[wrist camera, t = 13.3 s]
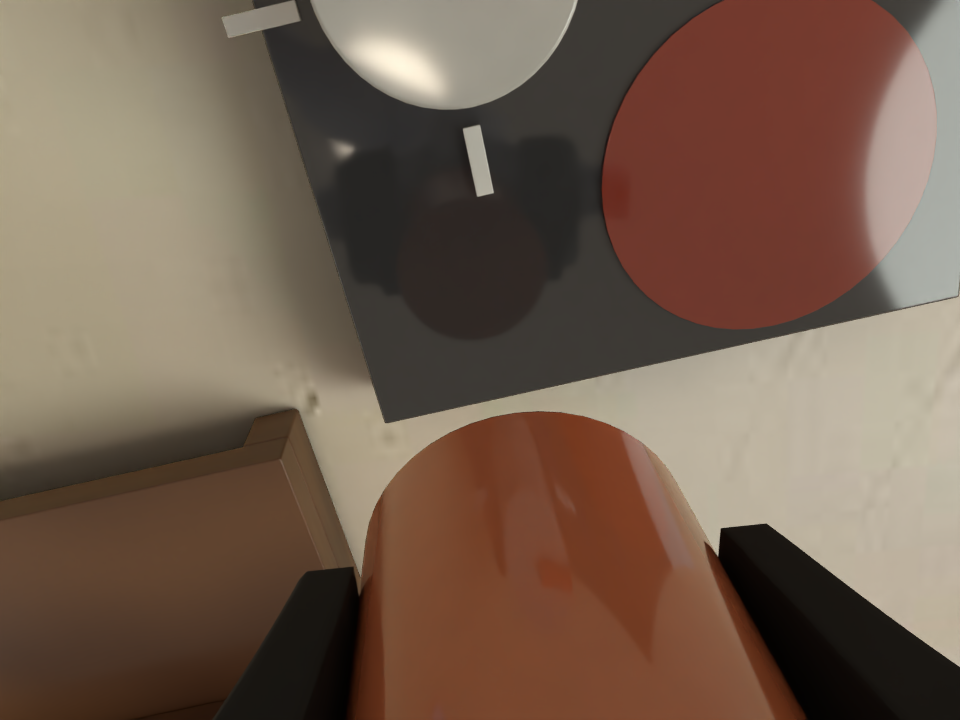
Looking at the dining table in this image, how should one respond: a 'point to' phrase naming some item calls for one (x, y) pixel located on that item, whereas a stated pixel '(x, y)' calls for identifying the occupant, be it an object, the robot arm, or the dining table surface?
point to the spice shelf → (159, 579)
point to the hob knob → (445, 45)
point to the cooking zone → (768, 158)
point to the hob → (539, 211)
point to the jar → (550, 588)
